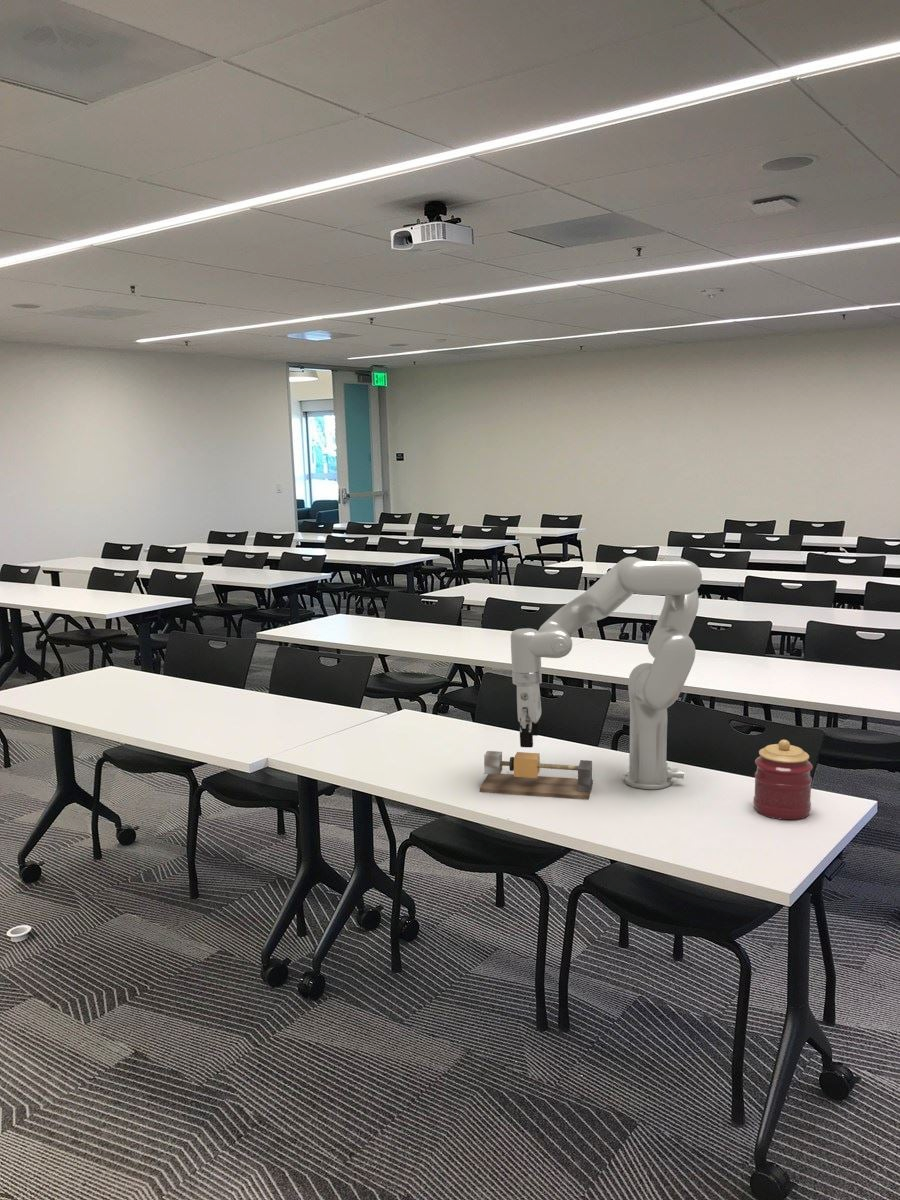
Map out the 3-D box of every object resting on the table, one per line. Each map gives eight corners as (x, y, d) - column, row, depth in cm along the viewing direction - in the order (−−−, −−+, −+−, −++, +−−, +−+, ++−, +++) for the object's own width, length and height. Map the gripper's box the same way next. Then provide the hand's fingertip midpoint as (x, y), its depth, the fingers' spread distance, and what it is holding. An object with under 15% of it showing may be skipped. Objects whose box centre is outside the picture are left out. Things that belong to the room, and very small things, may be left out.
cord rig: (592, 783, 238) (593, 752, 237) (588, 799, 226) (588, 767, 225) (488, 776, 245) (488, 746, 243) (479, 791, 233) (479, 760, 232)
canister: (806, 824, 209) (809, 751, 206) (748, 815, 215) (750, 743, 212) (814, 806, 220) (817, 736, 217) (758, 797, 226) (761, 729, 223)
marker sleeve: (539, 771, 237) (539, 753, 236) (536, 778, 232) (536, 759, 232) (517, 770, 239) (516, 751, 238) (513, 776, 234) (513, 758, 233)
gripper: (536, 685, 222) (539, 752, 225) (546, 669, 239) (548, 731, 242) (506, 685, 224) (509, 751, 227) (518, 668, 241) (520, 730, 243)
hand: (529, 741), depth 234 cm, fingers open, 9 cm apart
